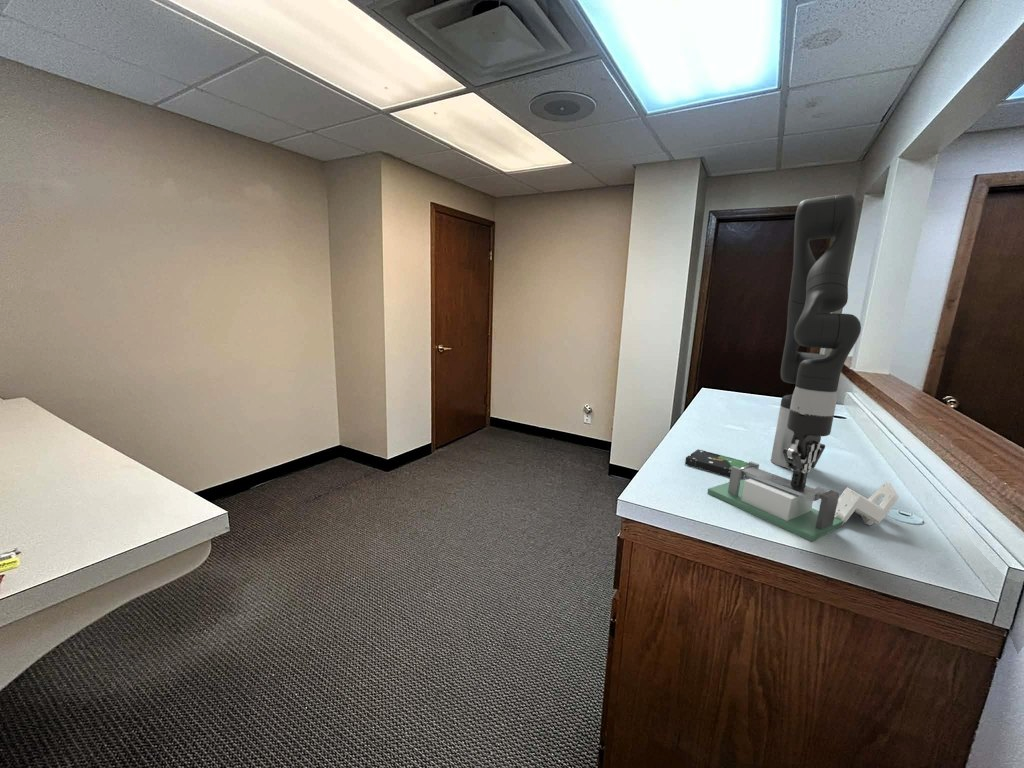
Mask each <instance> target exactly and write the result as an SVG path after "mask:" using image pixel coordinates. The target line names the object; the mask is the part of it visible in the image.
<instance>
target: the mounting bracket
mask: <svg viewBox="0 0 1024 768" xmlns="http://www.w3.org/2000/svg"><path fill="white" fill-rule="evenodd" d="M881 498H882V500H881V503H880V504H879V505H878V504H877V502H878V501H879V500H880V499H881ZM898 499H899V495H898V493H897V491H896V489H895V488H894V486H893V485H892V484H891V483H890V482H888V481H886V482H884V483H882V484H881V485H880V487H878V489H876V491H875V492H874V493H873V494H872V495H871V496H870V497H869V498H867V497H865V496H863V495H861V494H860V493H858V492H856V491H855V490H853V489H851V488H849V487H846V488H845V489H844V490H843V492H842V493H841V495H840V494H839V498H838V503H837V507H836V512H835V516H834V517H835V518H838V519H840V520H842V521H843V524H842V525H844V524H845V523H847V521H848V520H849V518H850V517H851V516H852V515H853V514H854V513H855V514H857V515H858V516H860V517H861V519H862V521H863V523H864V524H866V525H867V526H870V527H871V525H873V524H874V523H876V524H879V523H881V522H882V521H883V519H884V518H885V517H886V515H887V514H888V513H889V512H890V510H891V509H892V507H894V505H895V504H896V502H897V501H898Z"/></svg>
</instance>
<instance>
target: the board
mask: <svg viewBox="0 0 1024 768" xmlns="http://www.w3.org/2000/svg"><path fill="white" fill-rule="evenodd" d="M748 463H749V464H748V466H749V465H752V466H753V467H755V468H758V469H760V468H759V467H760V463H756V462H754V461H748ZM741 475H742V469H741V468H738V467H735V466H733V467H732V469H731V475H730V477H729V482H726V483H721V484H719V485H714V486H712V487H709V488H708V489H707V494H709V495H710V496H713V497H715V498H717V499H719V500H721V501H723V502H726V503H728V504H730V505H732V506H734V507H737V508H739V509H741V510H743V511H745V512H747V513H749V514H752V515H754V516H756V517H759V518H761V519H762V520H764V521H767V522H769V523H771V524H773V525H776V526H777V527H780V528H782V529H784V530H786V531H788V532H790V533H792V534H794V535H797V536H799V537H800V538H801V537H802V538H804V539H806V540H808V541H810V542H813V541H815V540H817V539H819V538H821V537H823V536H825V535H827V534H829V533H832V532H833V531H835V530H837V529H839V528H841V527H843V525H844V524H843V521H842V520H840V519H838V518H835V517H834V521H833V525H831V526H829V527H827V528H825V529H823V530H819V529H817V528H816V523H817V518H818V513H819V509H815V508H812V507H813V503H814V501H811V500H809V499H806V498H804V497H801V496H798V495H796V494H793V493H790V492H788V491H785V490H783V489H780V488H777V487H775V486H772V485H769V484H767V483H764V482H762V481H759V480H756V479H754V478H751V477H748V476H746V475H745V477H746V479H745V480H744V479H741Z"/></svg>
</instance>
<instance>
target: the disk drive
mask: <svg viewBox="0 0 1024 768" xmlns="http://www.w3.org/2000/svg"><path fill="white" fill-rule="evenodd" d="M686 464H687V465H686ZM748 464H749V461H748V462H747V461H744V460H742V459H736V458H733V457H730V456H729V457H728V456H725V455H722V454H718V453H715V452H709V451H707V450H703V449H696V450H695V451H694V452H692V453H690V454H689V455H687V456H686V457H685V461H684V465H686V466H690V467H692V468H696V469H699V470H700V469H701V470H704V471H707V472H710V473H713V472H714V474H718V475H721V476H724V477H728V478H730V475H731V469H732V467H733V466H735V467H738V468H742V467H746V466H748ZM744 477H746V475H743V474H742V475H741V480H743V478H744Z"/></svg>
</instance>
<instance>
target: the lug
mask: <svg viewBox="0 0 1024 768" xmlns="http://www.w3.org/2000/svg"><path fill="white" fill-rule="evenodd" d="M839 497H840V492H839V491H836V490H833V489H829V490H827V492H825V493H822V494H820V495H819V498H820V499H819V500H820V504H819V509H818V511H819V513H818V518H817V523H816V528H817V529H819V530H823V529H825V528H827V527H829V526H831V525H833V521H834V516H835V512H836V507H837V503H838V498H839Z"/></svg>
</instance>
